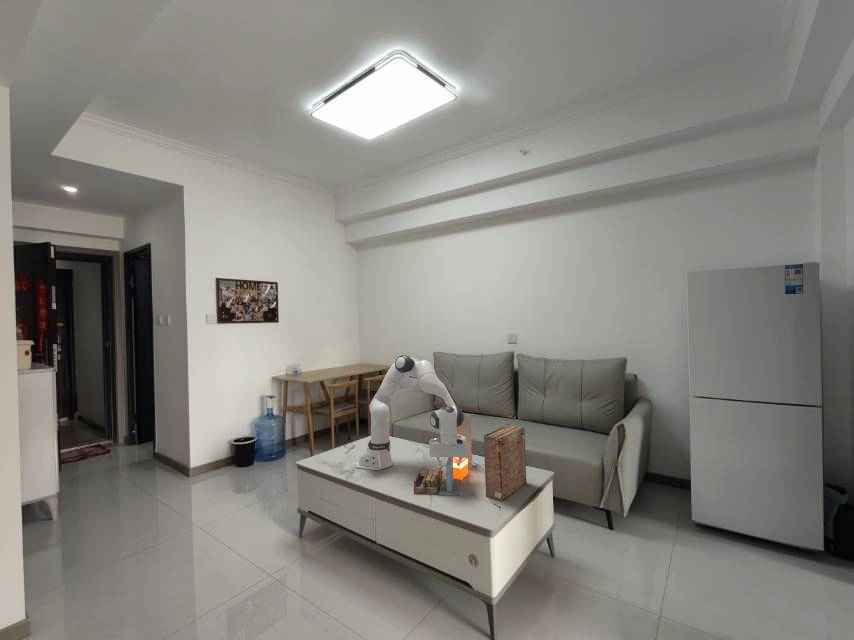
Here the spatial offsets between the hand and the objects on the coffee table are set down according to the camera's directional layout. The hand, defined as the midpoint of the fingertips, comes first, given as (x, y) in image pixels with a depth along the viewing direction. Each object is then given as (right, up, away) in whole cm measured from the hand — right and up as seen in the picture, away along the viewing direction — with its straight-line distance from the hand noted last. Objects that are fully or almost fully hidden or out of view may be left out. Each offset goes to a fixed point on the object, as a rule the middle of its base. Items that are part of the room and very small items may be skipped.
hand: (449, 465), depth 202 cm
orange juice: (+6, -12, +15) cm, 20 cm away
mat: (0, -12, 0) cm, 12 cm away
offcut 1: (-10, -12, +2) cm, 16 cm away
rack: (-11, -12, +2) cm, 17 cm away
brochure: (+8, -11, +28) cm, 31 cm away
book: (+29, -11, -4) cm, 31 cm away
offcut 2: (-8, -12, +1) cm, 15 cm away
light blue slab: (0, -11, 0) cm, 11 cm away
